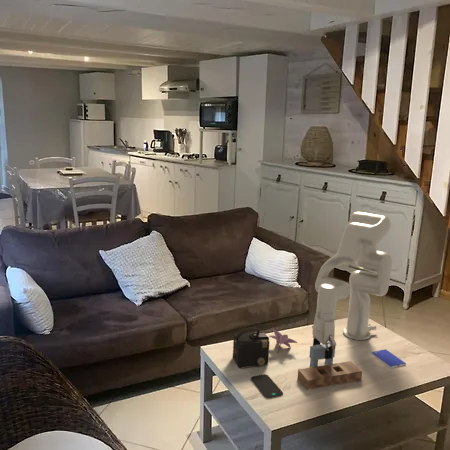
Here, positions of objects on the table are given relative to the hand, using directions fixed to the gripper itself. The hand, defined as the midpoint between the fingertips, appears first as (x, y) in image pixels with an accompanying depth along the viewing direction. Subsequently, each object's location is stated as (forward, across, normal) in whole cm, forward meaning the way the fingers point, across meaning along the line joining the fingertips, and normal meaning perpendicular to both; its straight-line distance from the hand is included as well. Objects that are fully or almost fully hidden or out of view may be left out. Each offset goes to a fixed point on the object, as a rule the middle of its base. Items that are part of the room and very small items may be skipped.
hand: (322, 352), depth 196 cm
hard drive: (+7, +3, +31) cm, 32 cm away
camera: (+6, -11, -27) cm, 30 cm away
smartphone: (+7, +8, -28) cm, 30 cm away
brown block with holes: (+6, +10, -2) cm, 12 cm away
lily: (+6, -17, -10) cm, 21 cm away
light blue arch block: (+6, 0, 0) cm, 6 cm away
